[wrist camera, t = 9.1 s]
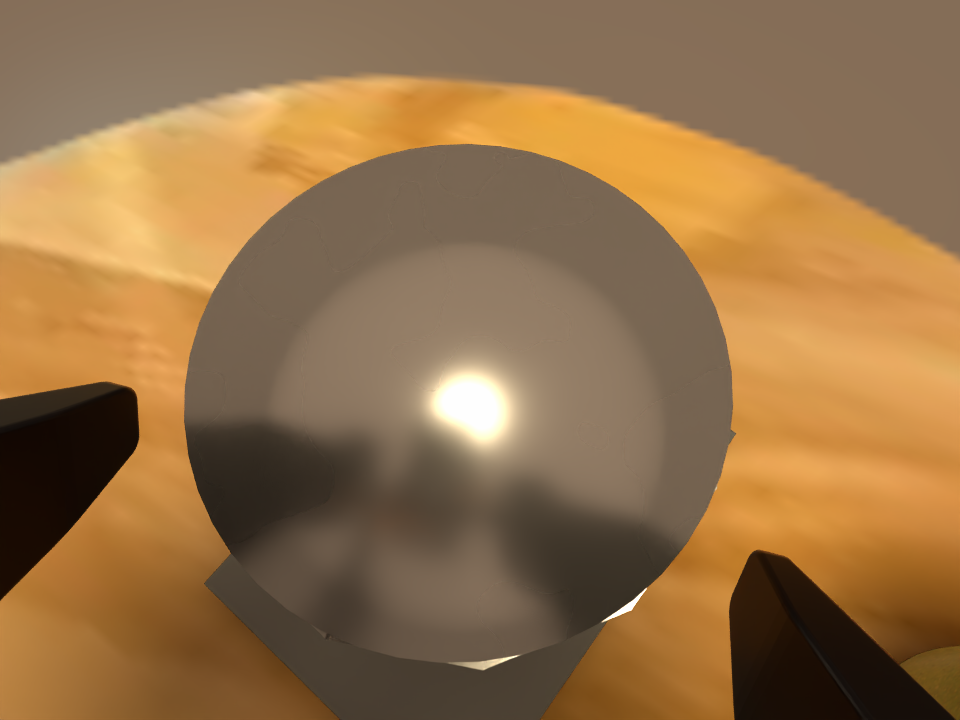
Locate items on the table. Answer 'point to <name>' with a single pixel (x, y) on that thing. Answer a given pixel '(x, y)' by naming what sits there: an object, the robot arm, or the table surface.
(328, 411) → the brushed metal canister
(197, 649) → the table surface
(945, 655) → the plant pot
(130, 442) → the robot arm
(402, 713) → the charcoal mat
